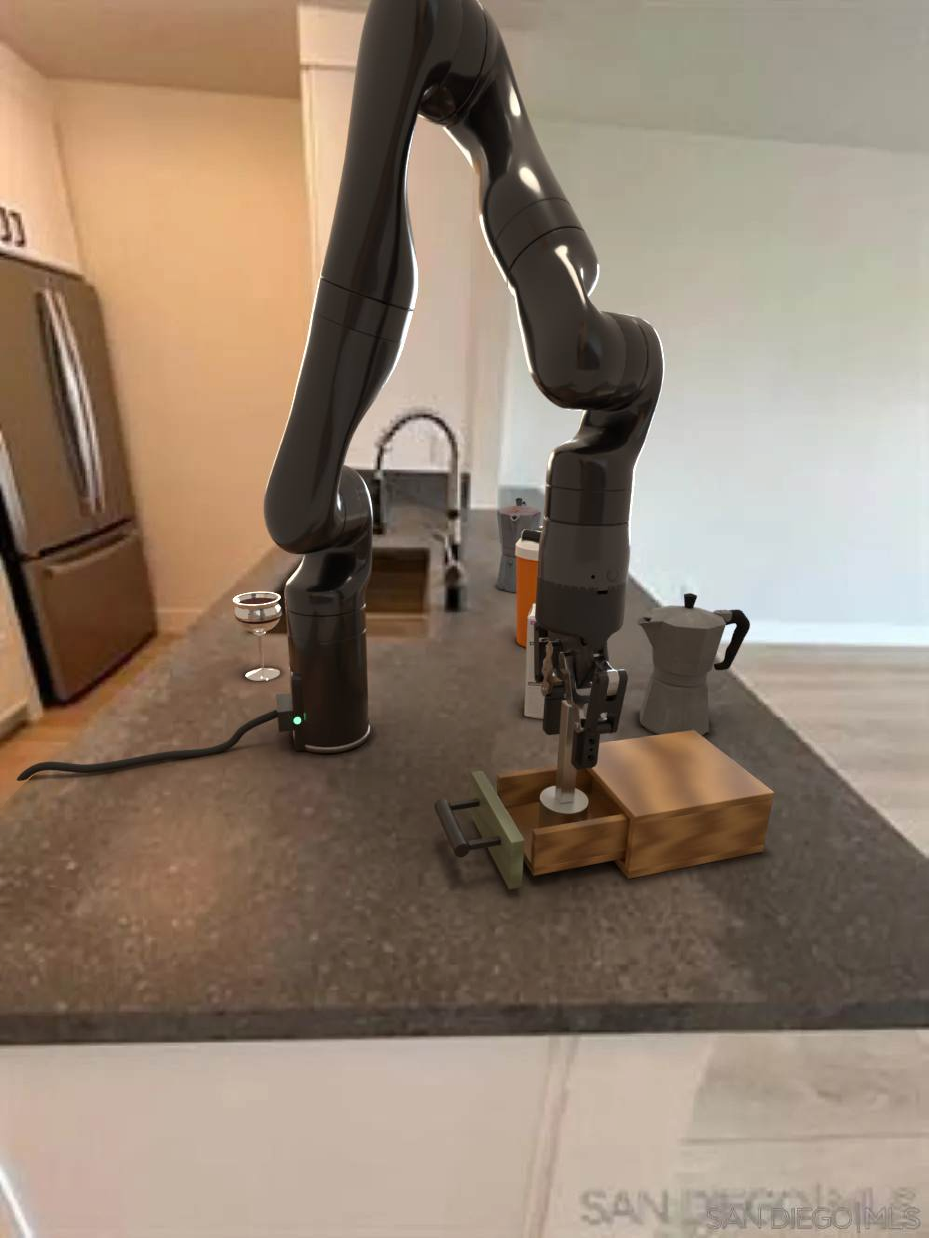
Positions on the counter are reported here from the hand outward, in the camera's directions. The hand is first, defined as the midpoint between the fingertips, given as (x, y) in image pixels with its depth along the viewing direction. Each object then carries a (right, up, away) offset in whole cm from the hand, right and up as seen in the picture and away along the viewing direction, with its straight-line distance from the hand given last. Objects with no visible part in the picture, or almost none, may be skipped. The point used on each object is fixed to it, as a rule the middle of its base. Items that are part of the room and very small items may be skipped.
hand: (568, 748), depth 62 cm
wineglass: (-40, +3, +40) cm, 57 cm away
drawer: (-3, -9, +2) cm, 10 cm away
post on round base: (0, -8, +3) cm, 8 cm away
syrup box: (+2, -1, +31) cm, 31 cm away
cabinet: (+10, -9, +6) cm, 15 cm away
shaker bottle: (+3, +8, +56) cm, 56 cm away
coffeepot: (+19, -2, +28) cm, 34 cm away
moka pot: (+2, +19, +89) cm, 91 cm away
